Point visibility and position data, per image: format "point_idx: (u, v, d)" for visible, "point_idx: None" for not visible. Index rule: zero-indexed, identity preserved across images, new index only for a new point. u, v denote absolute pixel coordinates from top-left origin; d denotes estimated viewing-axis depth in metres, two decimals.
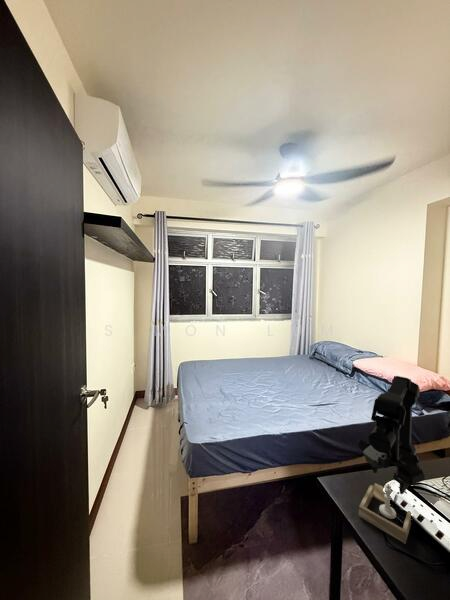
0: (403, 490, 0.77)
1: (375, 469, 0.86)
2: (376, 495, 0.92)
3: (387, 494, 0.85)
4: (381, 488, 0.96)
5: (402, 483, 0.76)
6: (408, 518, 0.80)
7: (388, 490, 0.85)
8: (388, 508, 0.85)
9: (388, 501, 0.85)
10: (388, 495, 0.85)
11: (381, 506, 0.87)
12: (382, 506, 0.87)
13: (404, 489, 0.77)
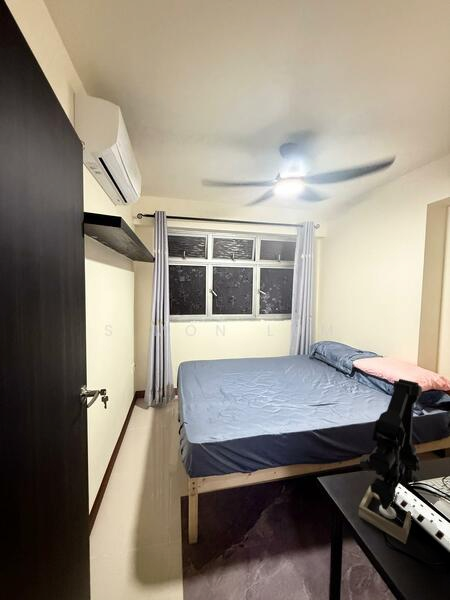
0: (383, 505, 0.82)
1: None
2: (376, 495, 0.92)
3: None
4: None
5: None
6: (408, 518, 0.80)
7: None
8: (388, 508, 0.85)
9: None
10: None
11: (381, 506, 0.87)
12: None
13: (384, 504, 0.82)
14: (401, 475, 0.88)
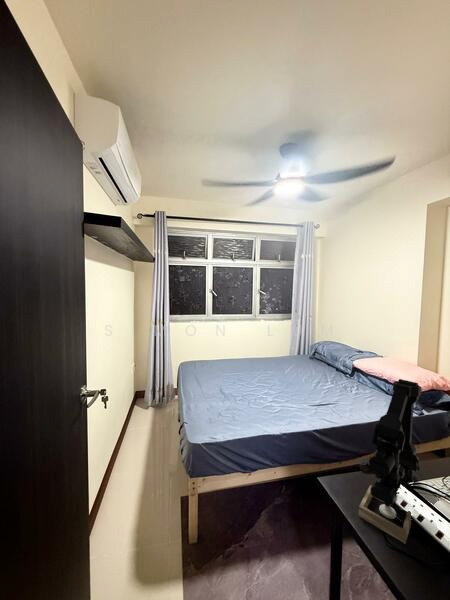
0: None
1: None
2: None
3: None
4: None
5: None
6: (408, 518, 0.80)
7: None
8: (388, 508, 0.85)
9: None
10: None
11: (381, 506, 0.87)
12: (382, 506, 0.87)
13: None
14: (399, 484, 0.86)
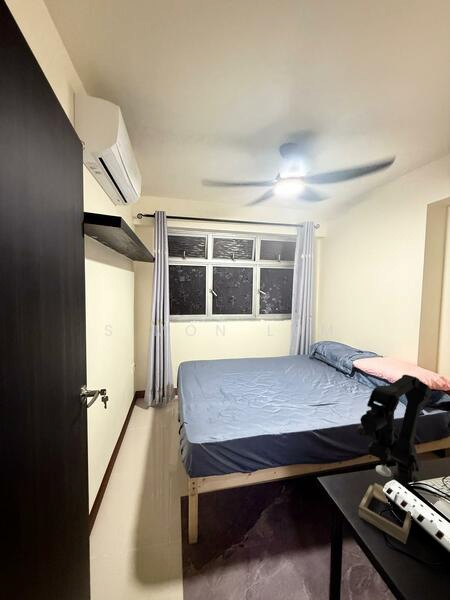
0: (381, 461, 0.91)
1: None
2: (376, 495, 0.92)
3: None
4: (381, 488, 0.96)
5: None
6: (408, 518, 0.80)
7: None
8: (384, 467, 0.92)
9: None
10: None
11: (377, 466, 0.94)
12: (378, 466, 0.94)
13: (382, 461, 0.91)
14: (394, 445, 0.92)
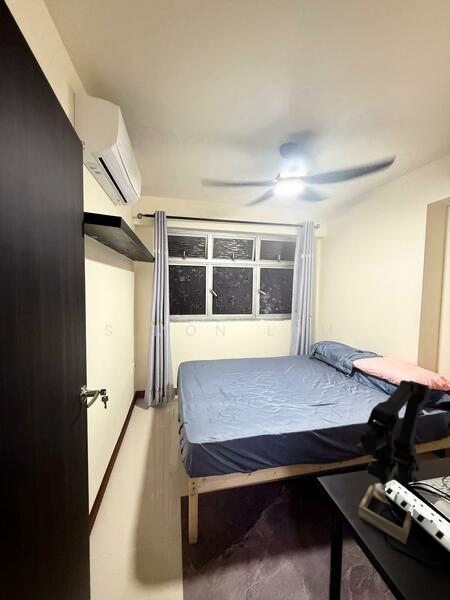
0: (381, 480, 0.92)
1: None
2: (376, 495, 0.92)
3: None
4: None
5: None
6: (408, 518, 0.80)
7: None
8: (383, 486, 0.92)
9: None
10: None
11: (377, 485, 0.94)
12: (378, 485, 0.94)
13: (382, 480, 0.92)
14: (393, 464, 0.93)
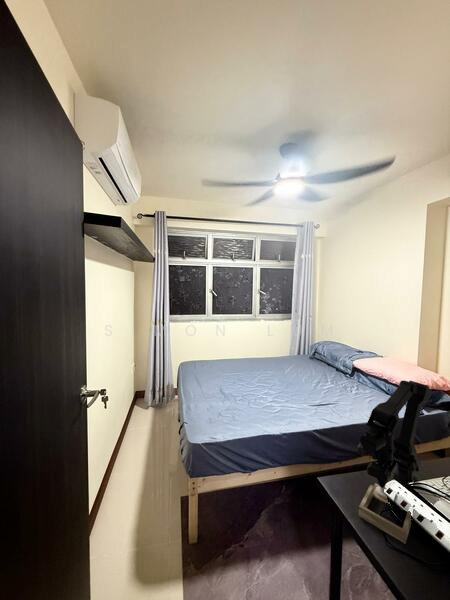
0: (380, 483, 0.91)
1: None
2: (376, 495, 0.92)
3: None
4: None
5: None
6: (408, 518, 0.80)
7: None
8: (383, 489, 0.92)
9: None
10: None
11: (377, 488, 0.94)
12: (378, 488, 0.94)
13: (381, 483, 0.91)
14: (394, 463, 0.93)
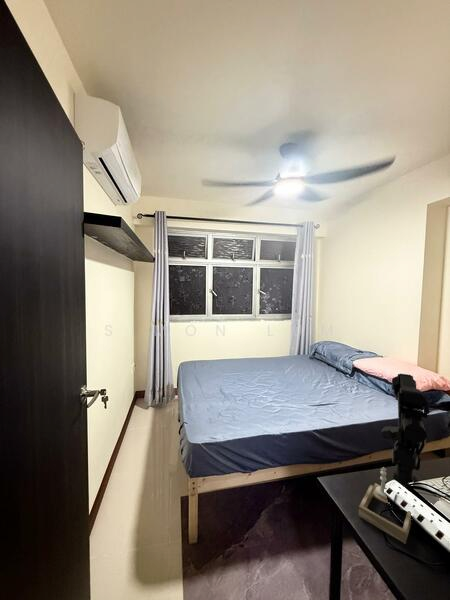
0: (405, 472, 0.85)
1: None
2: (376, 495, 0.92)
3: (382, 476, 0.92)
4: None
5: None
6: (408, 518, 0.80)
7: (383, 473, 0.92)
8: (383, 489, 0.92)
9: (383, 483, 0.92)
10: (383, 477, 0.92)
11: (377, 488, 0.94)
12: (378, 488, 0.94)
13: (406, 471, 0.85)
14: (423, 445, 0.90)
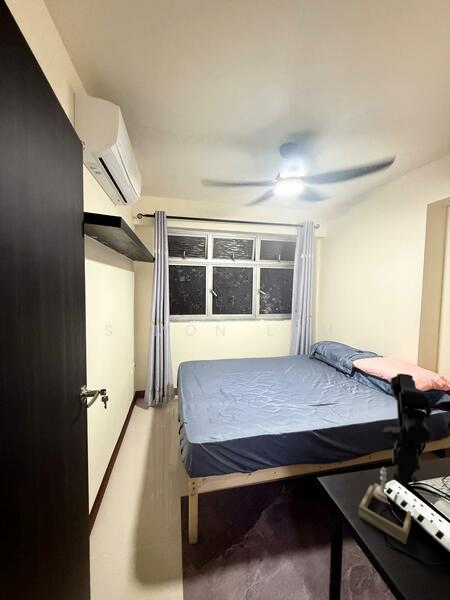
0: (407, 472, 0.85)
1: None
2: (376, 495, 0.92)
3: (382, 476, 0.92)
4: None
5: None
6: (408, 518, 0.80)
7: (383, 473, 0.92)
8: (383, 489, 0.92)
9: (383, 483, 0.92)
10: (383, 477, 0.92)
11: (377, 488, 0.94)
12: (378, 488, 0.94)
13: (408, 472, 0.84)
14: (424, 445, 0.90)
